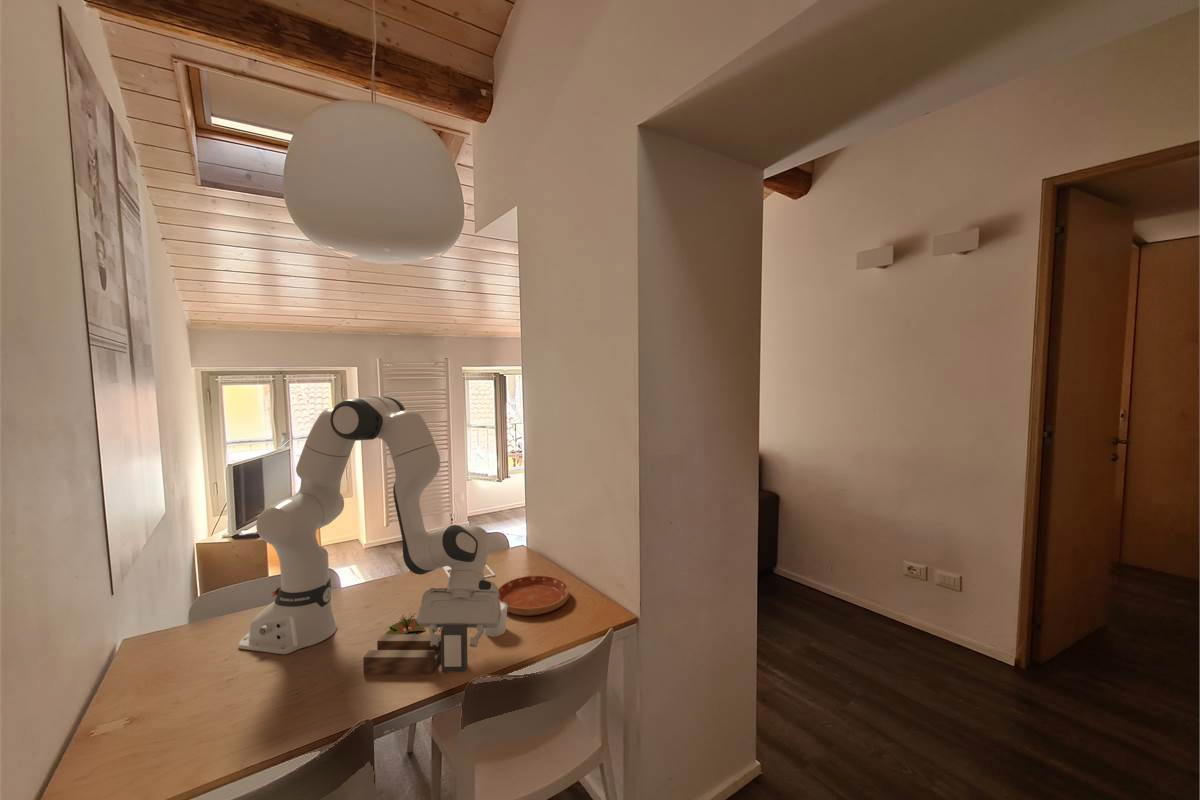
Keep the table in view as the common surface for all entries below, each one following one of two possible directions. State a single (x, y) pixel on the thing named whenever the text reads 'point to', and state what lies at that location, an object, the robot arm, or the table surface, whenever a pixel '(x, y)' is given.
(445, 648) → the small frame
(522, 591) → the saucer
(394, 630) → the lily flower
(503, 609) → the white cylinder
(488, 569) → the photo frame
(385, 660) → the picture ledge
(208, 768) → the table surface
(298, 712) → the table surface
